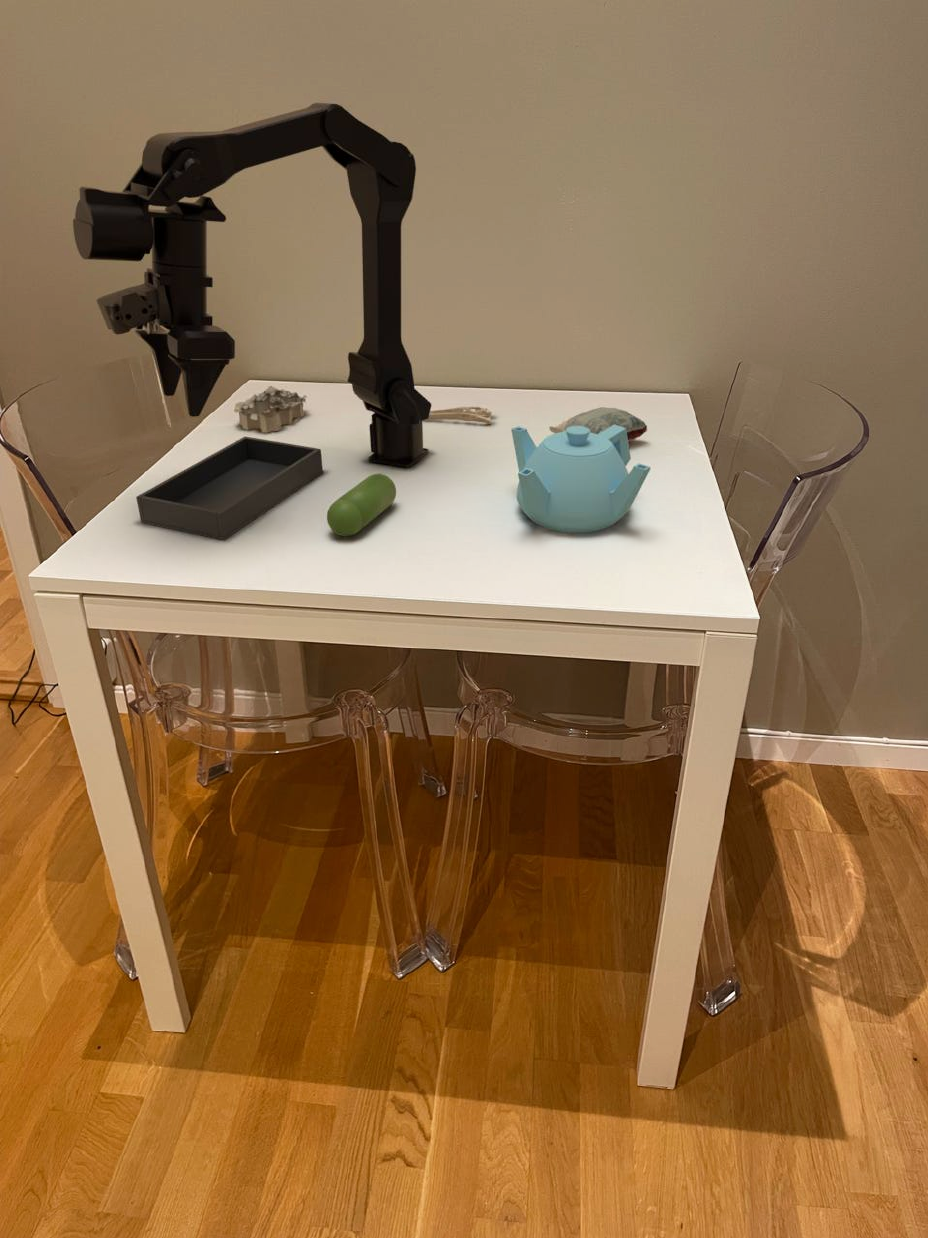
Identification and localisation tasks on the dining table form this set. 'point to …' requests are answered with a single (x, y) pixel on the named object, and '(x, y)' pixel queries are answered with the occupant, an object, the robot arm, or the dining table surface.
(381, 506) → the squash
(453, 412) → the animal skull
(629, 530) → the dining table surface
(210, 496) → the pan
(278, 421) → the egg carton
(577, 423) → the packaged food
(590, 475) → the teapot
